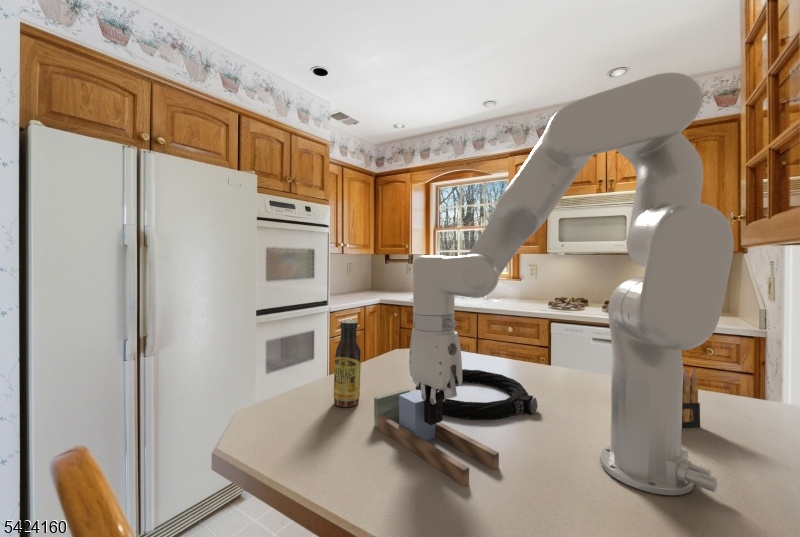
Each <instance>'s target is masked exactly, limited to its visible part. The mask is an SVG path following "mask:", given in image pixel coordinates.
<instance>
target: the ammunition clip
mask: <svg viewBox="0 0 800 537" xmlns="http://www.w3.org/2000/svg"><path fill="white" fill-rule="evenodd" d="M697 377H698V376H697V372H696V369H695V368H692V369H691V371H690V373H689V372H688V369H687V368H683V391H682V429H695V428H697V429H700V428H701V405H700V404H701V403H700V402H699V388H698V378H697Z"/></svg>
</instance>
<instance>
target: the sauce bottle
mask: <svg viewBox="0 0 800 537" xmlns="http://www.w3.org/2000/svg"><path fill="white" fill-rule="evenodd" d="M339 327H340V339H339V343H338V345H337V347H336V350H335V355H334V368H333V370H334V372H333V375H334V376H333V402H334V405H335V406H337V407H341V408H352V407H355V406H356V405H357V404H358V403H359V401H360V395H361V366H362V365H361V364H362V363H361V362H362V360H361V354H362V351H361V350H362V349H361V347H360V346H359V344H358V341H357V332H358V331H357V329H358V321H356V320H352V319H348V320H347V319H346V320H341V321H340V324H339Z"/></svg>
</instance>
